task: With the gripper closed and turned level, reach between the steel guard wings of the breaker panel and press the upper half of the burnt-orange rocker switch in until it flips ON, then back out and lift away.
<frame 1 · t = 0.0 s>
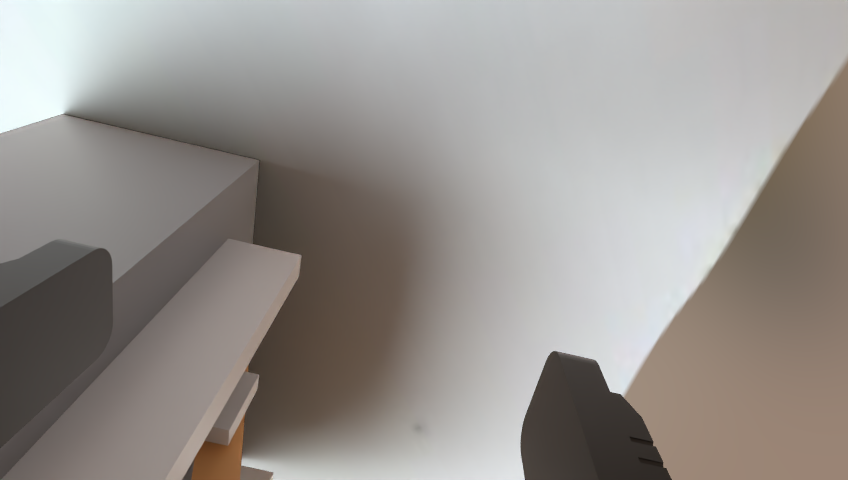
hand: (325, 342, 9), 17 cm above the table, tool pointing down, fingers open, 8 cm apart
breaker panel: (162, 314, 31), on the table
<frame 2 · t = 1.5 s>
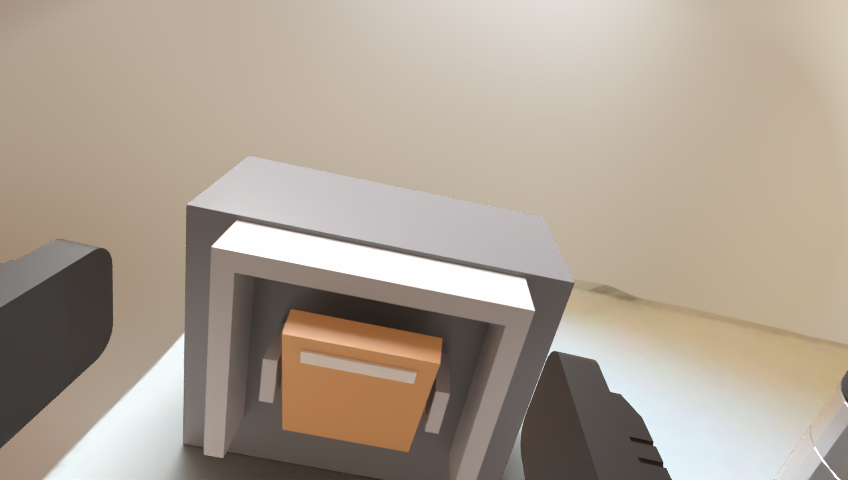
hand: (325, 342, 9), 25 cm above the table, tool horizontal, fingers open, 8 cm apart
breaker panel: (352, 419, 41), on the table
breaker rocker: (355, 388, 30), point 10 cm above the table, hinge at -18.0°
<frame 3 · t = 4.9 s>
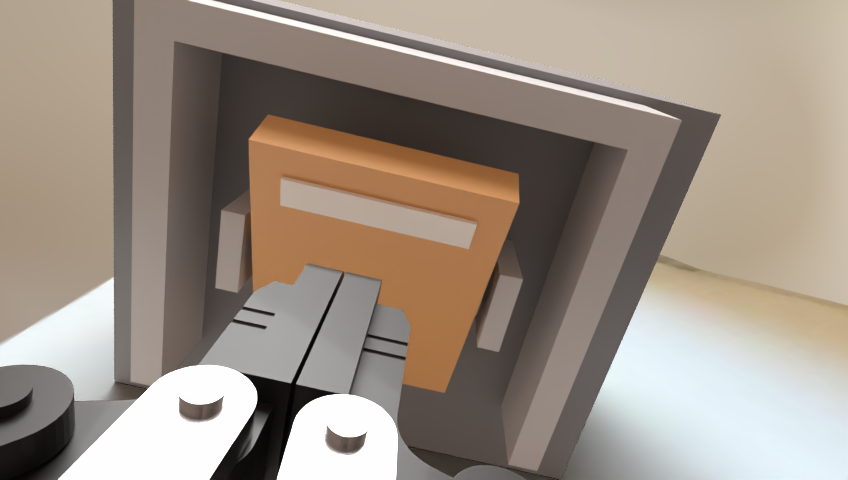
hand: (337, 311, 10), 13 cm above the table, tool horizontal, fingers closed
breaker panel: (358, 368, 30), on the table
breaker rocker: (368, 275, 19), point 10 cm above the table, hinge at -18.0°
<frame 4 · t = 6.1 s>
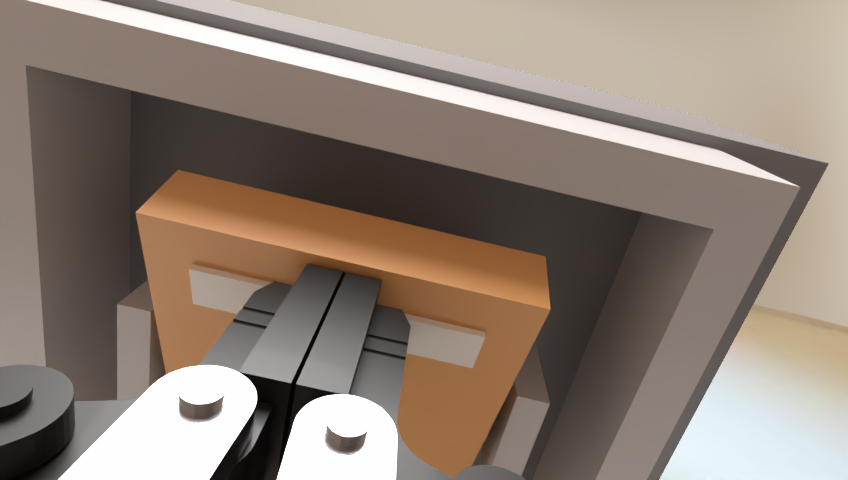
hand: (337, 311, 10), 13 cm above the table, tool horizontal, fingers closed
breaker panel: (338, 450, 24), on the table
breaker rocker: (332, 386, 13), point 10 cm above the table, hinge at -16.0°, touching gripper
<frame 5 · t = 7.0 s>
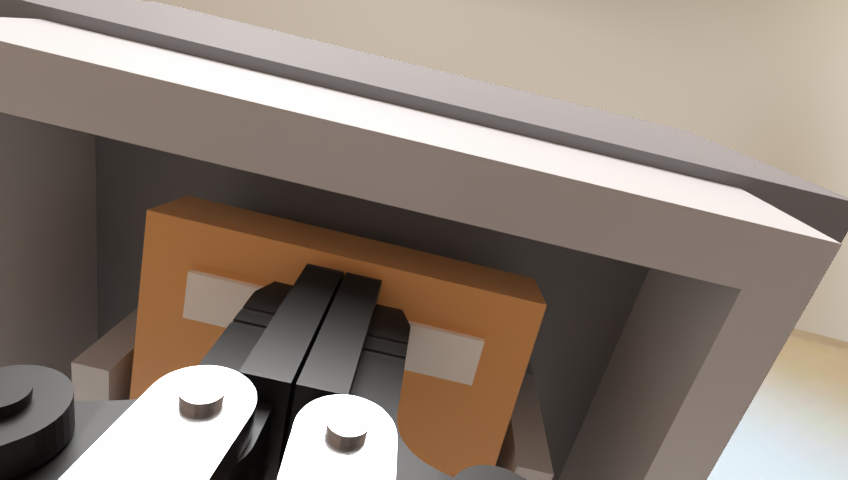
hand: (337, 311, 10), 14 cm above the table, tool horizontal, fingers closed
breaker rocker: (313, 447, 12), point 10 cm above the table, hinge at 6.5°, touching gripper
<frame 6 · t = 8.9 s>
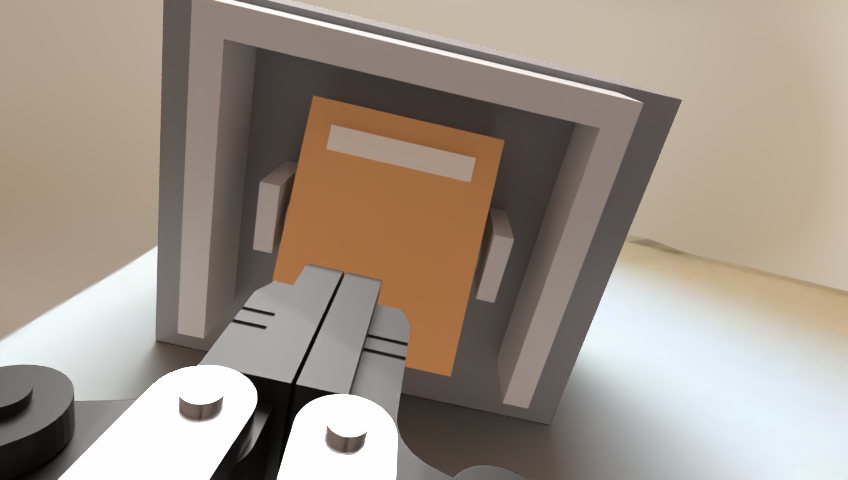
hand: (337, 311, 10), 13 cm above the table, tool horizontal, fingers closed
breaker panel: (369, 333, 33), on the table
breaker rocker: (383, 237, 22), point 10 cm above the table, hinge at 21.4°
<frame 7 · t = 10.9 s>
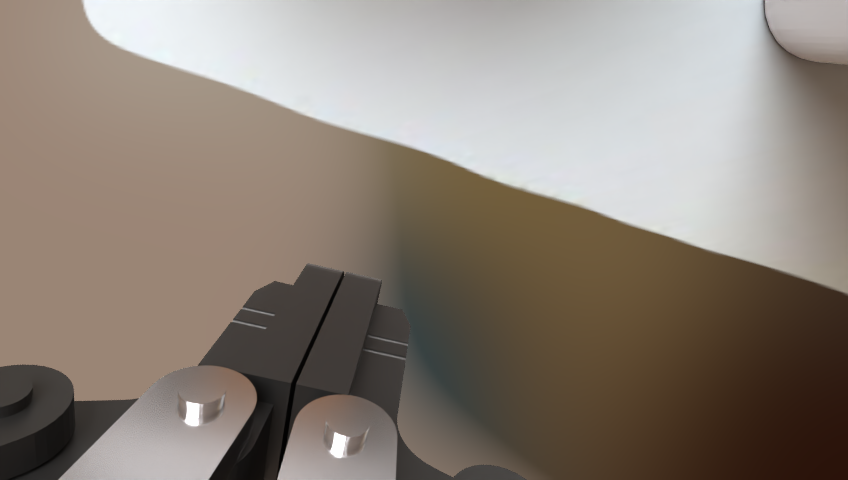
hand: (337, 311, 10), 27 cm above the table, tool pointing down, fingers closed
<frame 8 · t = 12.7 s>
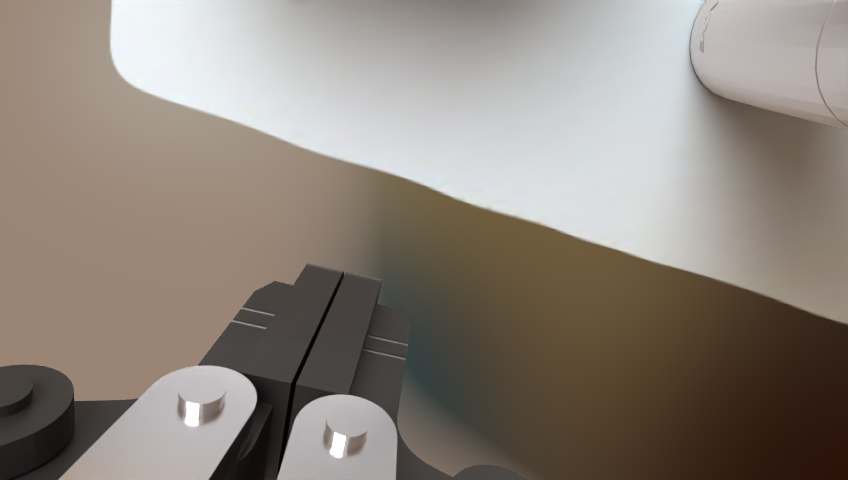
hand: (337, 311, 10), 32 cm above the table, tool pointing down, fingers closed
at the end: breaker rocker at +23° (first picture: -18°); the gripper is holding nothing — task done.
